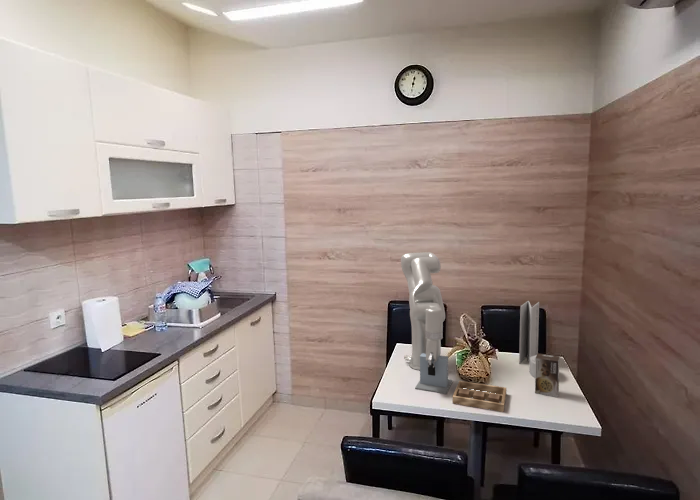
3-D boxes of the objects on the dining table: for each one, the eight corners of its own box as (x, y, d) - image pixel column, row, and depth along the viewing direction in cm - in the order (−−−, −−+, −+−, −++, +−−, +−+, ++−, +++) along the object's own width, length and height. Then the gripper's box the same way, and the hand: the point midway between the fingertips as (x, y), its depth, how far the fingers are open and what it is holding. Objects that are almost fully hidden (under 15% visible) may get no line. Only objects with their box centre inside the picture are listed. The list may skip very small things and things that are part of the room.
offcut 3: (488, 406, 172) (488, 397, 172) (489, 402, 176) (489, 393, 176) (498, 408, 171) (498, 399, 170) (499, 404, 174) (499, 394, 174)
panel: (420, 383, 194) (419, 356, 192) (422, 379, 198) (422, 353, 196) (446, 387, 189) (446, 359, 188) (448, 383, 193) (448, 356, 191)
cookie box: (559, 391, 184) (560, 356, 182) (557, 397, 178) (559, 361, 176) (536, 387, 189) (537, 352, 187) (534, 393, 183) (535, 357, 181)
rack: (452, 403, 176) (452, 396, 175) (459, 386, 191) (459, 380, 190) (503, 412, 168) (503, 404, 167) (506, 394, 183) (506, 387, 182)
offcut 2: (473, 404, 175) (473, 395, 174) (474, 399, 178) (474, 390, 178) (483, 405, 173) (483, 396, 173) (484, 401, 177) (484, 392, 176)
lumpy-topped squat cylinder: (550, 370, 206) (550, 353, 205) (558, 382, 194) (559, 363, 192) (527, 369, 208) (528, 352, 207) (534, 380, 195) (534, 362, 194)
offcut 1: (458, 401, 177) (458, 392, 177) (460, 397, 181) (460, 388, 180) (468, 403, 176) (468, 394, 175) (469, 399, 179) (469, 390, 179)
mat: (415, 388, 190) (415, 387, 190) (422, 376, 203) (422, 375, 203) (446, 394, 184) (446, 392, 184) (452, 381, 197) (452, 379, 197)
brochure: (530, 366, 212) (532, 307, 208) (519, 363, 215) (520, 306, 212) (537, 357, 223) (539, 301, 220) (526, 355, 227) (528, 300, 223)
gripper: (430, 328, 200) (430, 363, 202) (421, 339, 184) (421, 377, 186) (446, 330, 197) (446, 365, 199) (438, 341, 181) (438, 379, 183)
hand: (434, 371), depth 193 cm, fingers open, 9 cm apart
